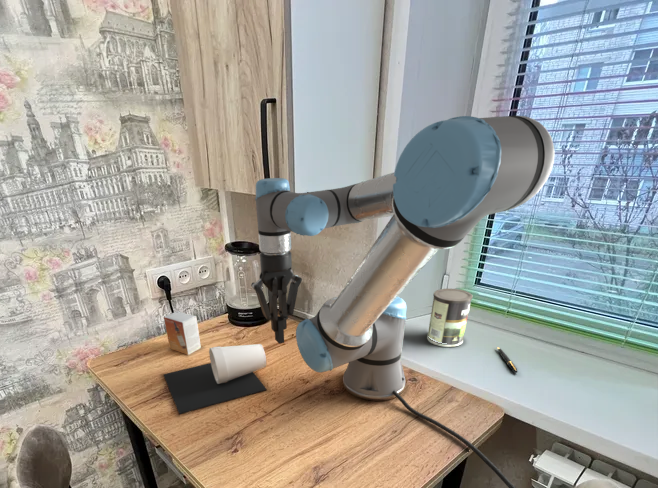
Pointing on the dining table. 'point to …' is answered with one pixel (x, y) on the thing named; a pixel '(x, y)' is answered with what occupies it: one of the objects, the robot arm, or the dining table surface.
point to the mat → (207, 388)
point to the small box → (182, 332)
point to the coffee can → (449, 317)
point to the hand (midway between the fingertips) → (279, 340)
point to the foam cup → (236, 361)
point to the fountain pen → (508, 360)
